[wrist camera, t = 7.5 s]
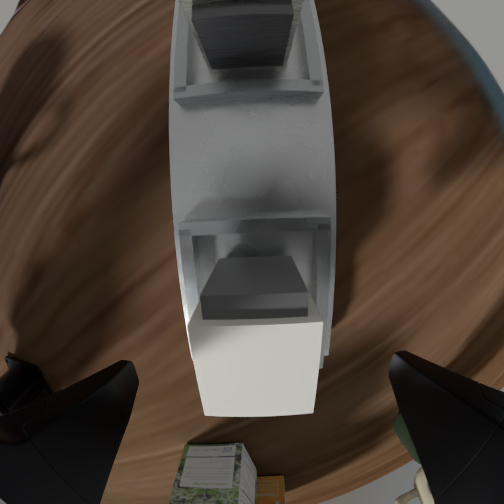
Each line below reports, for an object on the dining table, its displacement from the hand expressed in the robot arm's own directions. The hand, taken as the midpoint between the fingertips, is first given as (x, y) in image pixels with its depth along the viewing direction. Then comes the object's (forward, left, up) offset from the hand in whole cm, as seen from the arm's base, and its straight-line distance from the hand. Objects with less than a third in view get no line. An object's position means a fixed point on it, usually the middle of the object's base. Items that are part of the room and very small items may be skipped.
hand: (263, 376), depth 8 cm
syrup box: (-4, -18, -8) cm, 20 cm away
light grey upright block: (0, 0, -6) cm, 6 cm away
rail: (0, +7, -8) cm, 11 cm away
